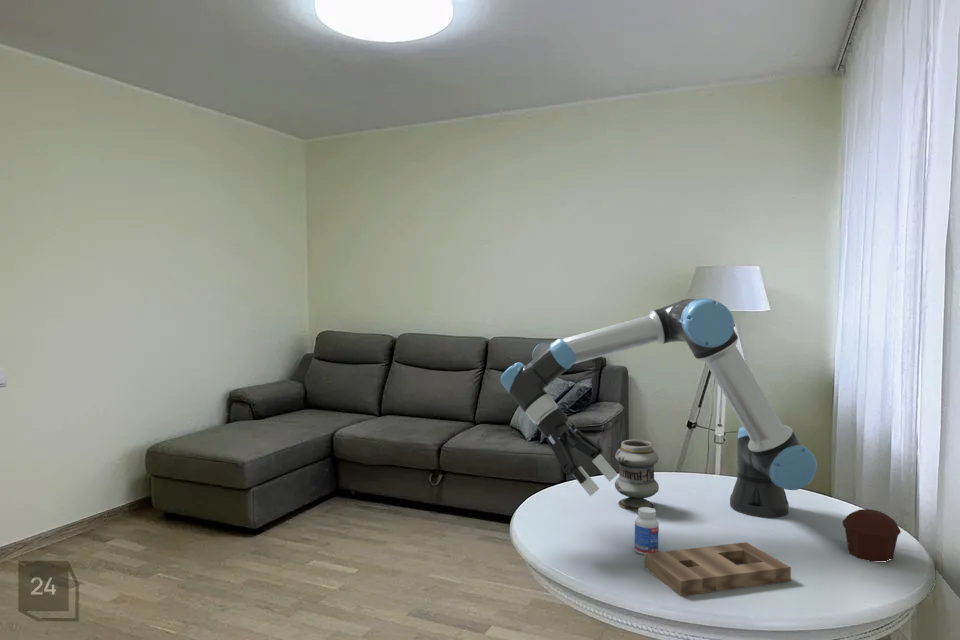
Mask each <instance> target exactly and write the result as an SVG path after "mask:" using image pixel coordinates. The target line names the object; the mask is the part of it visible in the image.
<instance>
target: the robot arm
mask: <svg viewBox="0 0 960 640" xmlns="http://www.w3.org/2000/svg"><path fill="white" fill-rule="evenodd" d="M734 328H735V320H734V317H733V314H732V312H731V311H730V309H729V308H728V307H727V306H726V305H724V304H723V303H722V302H720V301H717V300H715V299H711V298H688V299H682V300H679V301H676V302H673V303H671V304H669V305H666V306H663V307H660V308H656V309H652V310H650V312H649V314H648V315H646V316H642V317H637V318H635V319H630V320H627V321H622V322H619V323H615V324H613V325H608V326H604V327H601V328H597V329H594V330H590V331H587V332H582V333H579V334H575V335H572V336H571V335H570V336H568V337H567V336H566V337H564V338H557V339H556V340H554V341H550V342H549V341H548V342H547V341H545V342H541V343H538V344H537V345H536V346H535V348H534V349H533V351H532V355H531V357H532V360H531V361H530V362H528V363H527V364H523V363H522V362H516V363H513V364H512V365H511V366H509V367H508V368H507V369H506V370H505V371H503V373H502V374H501V376H500V384H501V385H502V386H503V387H504V389H505V390H506V391H507V393H508V395H510V396H511V398H512V399H513V401H515V402H516V403H517V405H518V406H519V407H520V409H521V410H522V411H523V412H524V413H525V414H526V415H527V418H528V420H531V422H532V423H533V424H534V425H537V429H538V430H539V432H540V433H541V434H542V435H543V437H544V438H547V439H546V442H547V444H549V446H550V448H551V449H552V453H554V455H555V458H556V459H557V461H558V464H559V465H560V467H561V469H562V471H563V473H564V474H565V475H566V476H569V477H570V476H571V475H572V476H573V478H575V480H576V481H577V482H578V483H579V484H580V486H581V487H582V489H584V491H586V493H587V494H588V495H589V497H592V496H593V495H594V494H595V493H596V492H597V491H598V490H600V487H599V486H598V484H597V483H595V481H594V480H593V479H592V477H590V475H589V474H588V473H587V472H586V470H585V469H584V468H583V467H582V466H581V465H580V466H579V464H578V461H577V458H576V455H575V454H574V450H573V449H576V450H578V451H579V452H581V453H583V454H584V455H586V456H588V457H589V458H591V462H592V464H594V465H595V466H596V467H597V469H598V470H599V471H600V472H601V474H602V475H603V476H604V477H605V478H606V479H607V481H608V482H609V483H610V482H611V481H612V480H613V479H614V478H616V477H617V476H619V474H618V472H616V470H615V469H614V468H613V467H612V466H611V465H610V463H609V462H608V461H607V460H606V459H605V458H604V456H603V455H602V453H603V449H602V448H601V446H599V445H598V444H597V443H596V442H594V441H593V440H592V439H590V438H589V437H588V436H587V435H586V434H584V432H582V431H581V430H580V429H578V427H577V426H576V425H575V424H571V425H570V426H568V425H567V422H568V421H569V417H568V416H567V415H566V413H565V412H564V411H563V410H562V409H561V408H558V404H557V403H556V401H555V400H554V399H553V398H552V397H551V395H549V393H548V392H547V391H546V390H545V389H546V388H547V387H548V386H550V384H551V383H553V382H554V381H555V380H557V379H558V378H559V377H560V376H561V375H562V374H564V373H565V372H566V371H568V369H570V368H572V366H573V365H575V364H578V363H582V362H586V361H589V360H590V361H591V360H595V359H597V358H602V357H605V356H608V355H611V354H616V353H620V352H623V351H628V350H630V349H634V348H637V347H643V346H645V345H649V344H653V343H658V344H660V345H664V344H668V343H675V342H684V343H686V344H687V345H688V347H689V349H690V351H691V352H692V354H693V356H694V358H695V359H696V360H698V361H703V362H704V363H705V364H706V366H707V369H708V370H709V371H710V373H711V375H712V377H713V378H714V380H715V381H716V384H717V385H718V386H719V388H720V390H721V391H722V393H723V395H724V397H725V398H726V400H727V402H728V403H729V405H730V407H731V409H732V410H733V412H734V414H735V415H736V417H737V419H738V420H739V423H740V424H741V427H739V428H738V432H737V438H736V440H737V444H736V446H737V449H736V450H737V451H736V452H737V455H736V456H737V457H736V459H737V460H736V462H737V468H736V469H737V470H736V473H737V474H736V480H735V483H734V486H733V489H732V492H731V494H730V496H729V506H730V508H731V509H733V510H735V511H737V512H739V513H743V514H745V515H749V516H753V517H754V516H755V517H761V518H762V517H764V518H777V517H778V518H779V517H784V516H787V515H789V512H790V511H789V509H790V504H789V501H788V498H787V495H786V494H787V493H786V491H785V490H788V491H798V490H801V489H803V488H805V487H807V486H808V485H809V484H810V483H811V482H812V481H813V479H814V478H815V475H816V472H817V470H818V463H817V459H816V456H815V455H814V454H813V452H812V451H811V450H810V449H809V448H807V447H806V446H804V445H802V443H801V442H800V440H799V439H798V437H797V435H796V434H795V431H793V428H792V427H791V426H788V425H785V424H782V422H781V421H780V419H779V417H778V416H777V414H776V412H775V410H774V409H773V407H772V405H771V403H770V401H769V400H768V398H767V396H766V395H765V393H764V391H763V390H762V388H761V386H760V384H759V383H758V381H757V379H756V377H755V376H754V374H753V372H752V371H751V369H750V367H749V366H748V365H749V364H748V363H747V362H746V360H745V359H744V356H743V355H742V354H741V352H740V350H739V349H738V347H737V344H738V341H739V336H738V334H737V332H736V331H735V329H734Z"/></svg>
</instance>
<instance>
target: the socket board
mask: <svg viewBox="0 0 960 640" xmlns="http://www.w3.org/2000/svg"><path fill="white" fill-rule="evenodd" d="M644 569H646V570H647V569H648V570H649V571H648V570H647V571H648V572H650V573H651V574H652V573H653V574H654V575H653V574H652V575H653V576H655V577H656V578H657V579H658V580H660V581H661V582H662V583H664V585H666V586H667V587H669V588H670V589H671V590H672V591H673V592H675V593H676V594H677V595H679V597H684V596H690V595H691V596H692V595H698V594H706V593H713V592H720V591H727V590H734V589H735V590H736V589H737V590H738V589H742V588H750V587H757V586H765V585H772V584H780V583H781V584H782V583H787V582H791V580H792V579H791V578H792V577H791V576H792V570H791V569H792V567H791V566H790V565H788V564H787V563H784V562H783V561H781V560H779V559H777V558H775V557H773V556H772V555H770V554H769V553H766V552H765V551H763V550H761V549H759V548H757V547H756V546H754V545H752V544H751V543H748V542H747V541H746V542H738V543H735V542H734V543H727V544H719V545H708V546H701V547H693V548H692V547H691V548H684V549H676V550H675V549H674V550H667V551H666V550H665V551H658V552H656V553H647V554H645V555H644Z"/></svg>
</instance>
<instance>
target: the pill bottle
mask: <svg viewBox="0 0 960 640" xmlns="http://www.w3.org/2000/svg"><path fill="white" fill-rule="evenodd" d="M656 516H657V511H656V509H655V508H649V507H641V508H639V509H638V511H637V517H636V518H635V519H634V537H633V538H634V544H633V545H634V551H635V552H636V553H638V554H640V555H643V554H644V555H643V556H645V554H647V553H656V552H659V533H660V532H659V527H660V526H659V525H660V523H659V522H660V521H659V520H658V519H657V518H656Z"/></svg>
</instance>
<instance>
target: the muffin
mask: <svg viewBox="0 0 960 640" xmlns="http://www.w3.org/2000/svg"><path fill="white" fill-rule="evenodd" d="M842 526H843V527H844V530H845V536H846V543H847V550H848V553H849V555H852V556H854V557H856V558H857V559H860V560H863V559H864V560H863V561H867V560H869V561H868V562H871V561H887V560H889V559H893V560H894V556H895V550H896V546H897V541H898V537H899V535H900V534H901V529H900V527H899V525H898V524H897V522H896V521H895V520H894V519H893V518H892V517H891V516H889V515H887V514H886V513H885V512H883V511H879V510H876V509H867V508H866V509H865V508H863V509H858V510H855V511H852V512H850V513H849V514H847V516H845V518H844V519H843V520H842Z"/></svg>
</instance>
